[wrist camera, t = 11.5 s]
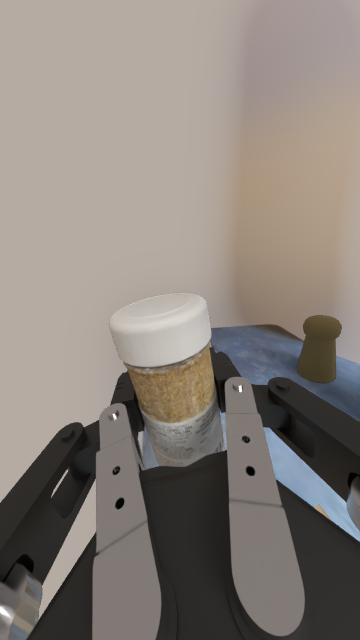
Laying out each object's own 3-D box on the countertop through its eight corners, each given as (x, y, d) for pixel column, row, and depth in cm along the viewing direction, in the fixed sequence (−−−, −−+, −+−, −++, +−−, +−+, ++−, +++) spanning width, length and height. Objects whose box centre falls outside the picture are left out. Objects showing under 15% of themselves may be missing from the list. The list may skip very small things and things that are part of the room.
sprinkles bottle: (194, 438, 17) (162, 288, 12) (243, 475, 13) (226, 291, 8) (153, 486, 14) (89, 315, 9) (203, 548, 11) (145, 334, 6)
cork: (319, 359, 38) (326, 309, 34) (345, 379, 33) (357, 322, 28) (289, 364, 38) (293, 315, 34) (311, 385, 33) (318, 329, 28)
